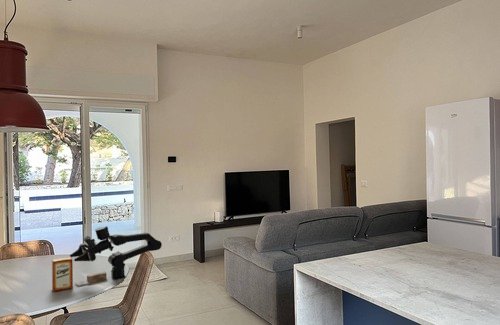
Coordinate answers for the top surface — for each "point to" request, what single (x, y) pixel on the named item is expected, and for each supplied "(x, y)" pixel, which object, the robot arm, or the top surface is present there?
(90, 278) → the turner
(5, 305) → the top surface
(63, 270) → the baking soda box
